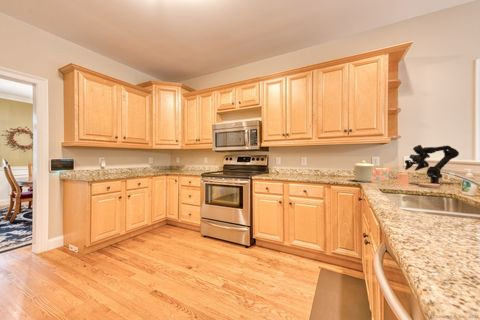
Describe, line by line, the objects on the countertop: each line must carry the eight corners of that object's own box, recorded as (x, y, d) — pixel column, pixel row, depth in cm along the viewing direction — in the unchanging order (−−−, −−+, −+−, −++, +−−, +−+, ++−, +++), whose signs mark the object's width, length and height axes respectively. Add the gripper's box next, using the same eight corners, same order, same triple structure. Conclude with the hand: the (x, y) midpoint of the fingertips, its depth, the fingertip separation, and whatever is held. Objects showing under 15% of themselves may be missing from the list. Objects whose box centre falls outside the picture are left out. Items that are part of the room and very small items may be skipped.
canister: (378, 182, 199) (378, 160, 198) (359, 182, 199) (359, 161, 198) (367, 180, 217) (367, 160, 216) (349, 180, 217) (350, 160, 216)
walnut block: (421, 186, 180) (421, 182, 180) (440, 187, 171) (440, 184, 171) (418, 187, 173) (418, 184, 173) (437, 189, 163) (437, 185, 163)
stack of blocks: (366, 179, 222) (366, 168, 222) (364, 179, 228) (364, 168, 228) (389, 180, 217) (389, 168, 216) (386, 179, 223) (386, 168, 222)
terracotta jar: (402, 184, 190) (402, 173, 190) (409, 185, 183) (410, 174, 183) (395, 184, 189) (395, 173, 189) (402, 185, 182) (402, 174, 182)
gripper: (406, 151, 196) (395, 163, 195) (426, 151, 177) (414, 164, 176) (413, 159, 197) (403, 171, 196) (434, 160, 179) (422, 173, 178)
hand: (410, 170), depth 186 cm, fingers open, 9 cm apart
